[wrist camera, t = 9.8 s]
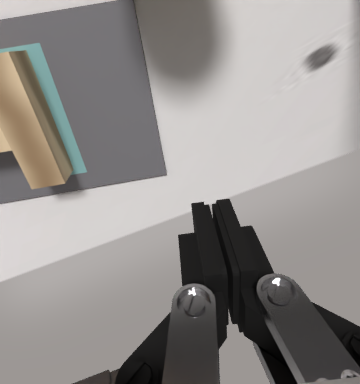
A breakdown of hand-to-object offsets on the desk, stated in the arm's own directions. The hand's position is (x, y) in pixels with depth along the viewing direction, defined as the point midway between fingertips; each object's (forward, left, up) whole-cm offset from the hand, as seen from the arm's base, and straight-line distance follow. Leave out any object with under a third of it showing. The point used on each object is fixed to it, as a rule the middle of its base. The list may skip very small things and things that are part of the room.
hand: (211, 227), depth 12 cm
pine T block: (+20, -2, -23) cm, 31 cm away
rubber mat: (+16, -1, -24) cm, 29 cm away
